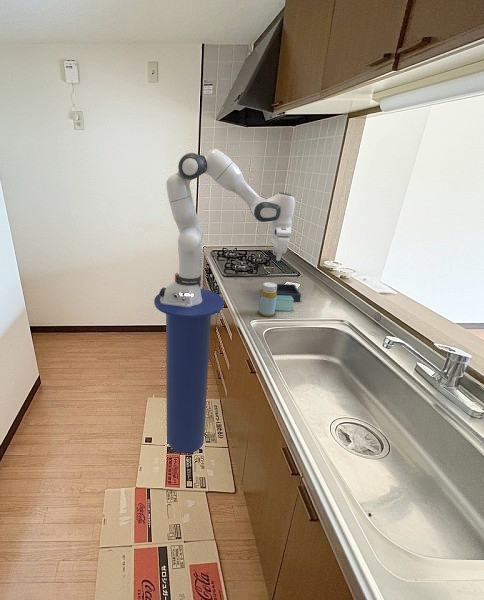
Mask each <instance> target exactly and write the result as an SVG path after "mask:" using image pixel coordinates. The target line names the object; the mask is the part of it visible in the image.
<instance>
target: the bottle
mask: <svg viewBox="0 0 484 600" xmlns="http://www.w3.org/2000/svg"><path fill="white" fill-rule="evenodd" d="M277 284H278V283H275V282H271V281H269V282H264V283H263V284H262V291H261V292H260V298H259V299H260V301H259V309H258V313H259V314H260V316H263V317H268V318H269V317H272V316H274V315H275V311H276V310H275V305H276V298H277V293H276V290H277Z"/></svg>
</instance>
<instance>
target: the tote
mask: <svg viewBox="0 0 484 600" xmlns="http://www.w3.org/2000/svg"><path fill="white" fill-rule="evenodd" d="M276 284H277V290H276V293H277V295H284V296H292V298H293V299H294V301H293V302H294V303H295V302H297V303H298V302H299V303H300V302H301V297H302V294H301V292H300V291H299V289H298V288H297V287H296V284H288V283H276Z"/></svg>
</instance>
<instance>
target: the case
mask: <svg viewBox="0 0 484 600" xmlns="http://www.w3.org/2000/svg"><path fill="white" fill-rule="evenodd" d="M294 302H295V301H294V299H293V298H292V296H284V295H277V298H276V305H275V311H280V312H281V311H282V312H283V311H284V312H292V311H293V306H294Z"/></svg>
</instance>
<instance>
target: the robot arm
mask: <svg viewBox="0 0 484 600" xmlns="http://www.w3.org/2000/svg"><path fill="white" fill-rule="evenodd" d="M177 167H178V171H177V172H176V173H173V174H172V175H170V176H169V177H168V178H167V179H166V183H165V185H166V193H167V198H168V202H169V206H170V210H171V213H172V218H173V220H174V222H175V224H176V226H177V229H178V232H179V234H178V237H177V254H178V272H176V273H174V281H173V282H171V283H170V284H168V285H167V286H166V287H162V288H161V289H159V292H158V294H160V296H161V297H160V302H161V304H165V305H172V306H180V307H191V306H194V305H198V304H200V303H201V302H202V297H201V290H200V289H201V286H202V275H201V267H202V257H201V255H202V253H201V251H202V250H201V249H202V240H203V236H204V235H203V231H202V227H201V223H200V220H199V217H198V214H197V211H196V206H195V202H194V198H193V194H192V191H191V181H193V180H195V179H197V178H199V177H200V176H201V175H204V174H206V175H207V176H209V177H211V179H212V180H213V181H215V182H216V183H217V184H218V185H219V186H220V187H221V188H223V189H225V190H226V191H229V192H232V193H234V194H236V195H237V196H238V197H240V199H242V201H243V202H245V204H247V206H248V207H249V210H250V213H251V214H252V216H253V217H254V218H255V219H256V221H258V222H261V223H267V222H268V223H269V222H271V227H270V233H271V234H272V235H271V239H270V243H271V245H272V255H273V256H276V257H275V261H277V262H278V261H279V262H280V261H281V258H282V256H283V254H286V252H287V250H288V246H289V242H290V238H291V237H292V225H293V216H294V213H295V206H296V199H295V196H293V195H292V194H290V193H287V192H278V193H276V194H275V195H273V196H271V197H269V198H267V197H264V196H261V195H259V194H258V193H257V192H256V191H255V190H254V189H253V188H251V186H250V185H249V184H248V183H247V182H246V180H245V177H244V175H243V172H242V171H241V169H240V168H239V167H238V165H237V164H236V163H235V161H233V160H232V159H231V158H230V157H229V156H228V155H226V154H225V153H224V152H223V151H222V150H219V149H218V148H211V149H209V150H208V151H206V152H205V154H202V155H201V154H198V153H195V152H188V153H185V154H184V155H183V156H182V157H181V158H180V159H179V161H178V165H177Z"/></svg>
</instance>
